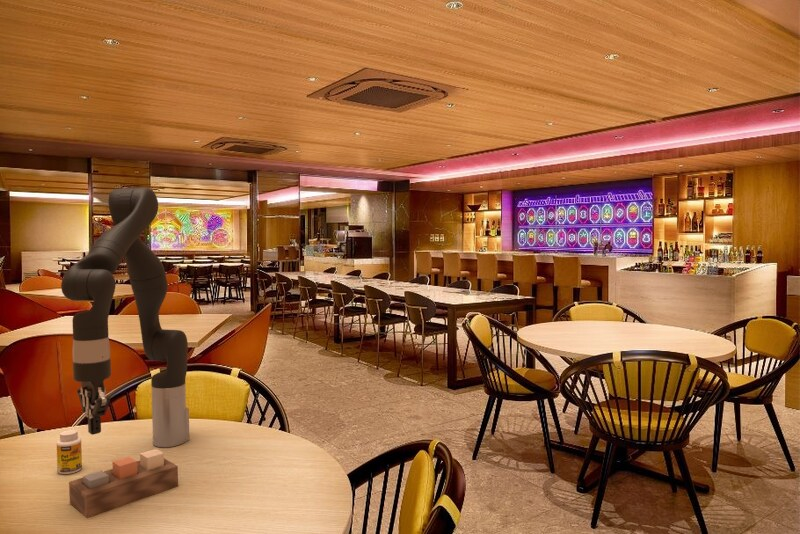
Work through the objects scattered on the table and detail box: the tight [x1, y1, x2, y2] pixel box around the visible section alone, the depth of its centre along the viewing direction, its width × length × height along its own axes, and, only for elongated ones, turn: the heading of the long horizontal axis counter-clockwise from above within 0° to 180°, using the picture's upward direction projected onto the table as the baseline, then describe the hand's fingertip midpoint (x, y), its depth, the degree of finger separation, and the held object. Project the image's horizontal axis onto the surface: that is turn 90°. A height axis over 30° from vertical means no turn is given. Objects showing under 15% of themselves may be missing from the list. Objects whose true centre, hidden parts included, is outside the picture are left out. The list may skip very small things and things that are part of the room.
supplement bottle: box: [56, 429, 83, 475], centre depth 150 cm, size 6×6×10 cm
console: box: [68, 458, 179, 518], centre depth 138 cm, size 21×10×5 cm, turn 138°
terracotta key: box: [112, 456, 138, 480], centre depth 137 cm, size 4×4×4 cm
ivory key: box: [139, 448, 165, 471], centre depth 142 cm, size 4×4×4 cm
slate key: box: [82, 470, 109, 489], centre depth 133 cm, size 4×4×4 cm
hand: (94, 432), depth 132 cm, fingers closed
